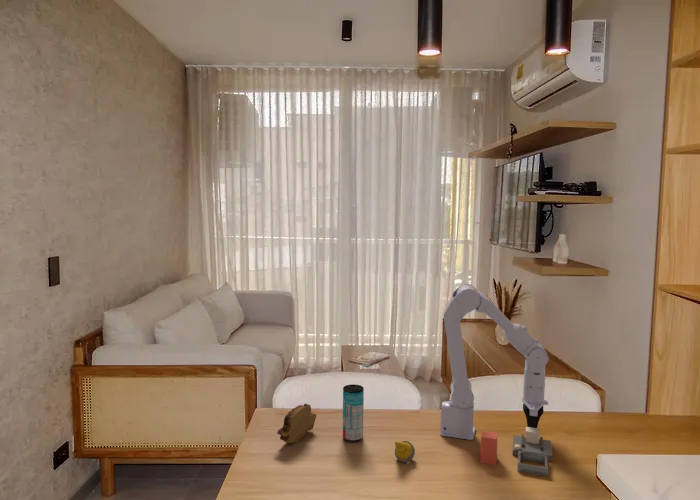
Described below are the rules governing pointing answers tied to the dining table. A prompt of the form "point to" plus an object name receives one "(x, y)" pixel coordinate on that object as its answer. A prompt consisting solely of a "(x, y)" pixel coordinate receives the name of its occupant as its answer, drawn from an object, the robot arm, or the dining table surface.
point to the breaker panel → (532, 447)
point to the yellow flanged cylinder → (404, 451)
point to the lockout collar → (531, 468)
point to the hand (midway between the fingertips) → (532, 430)
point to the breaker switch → (532, 435)
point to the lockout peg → (488, 447)
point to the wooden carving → (297, 423)
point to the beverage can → (353, 412)
